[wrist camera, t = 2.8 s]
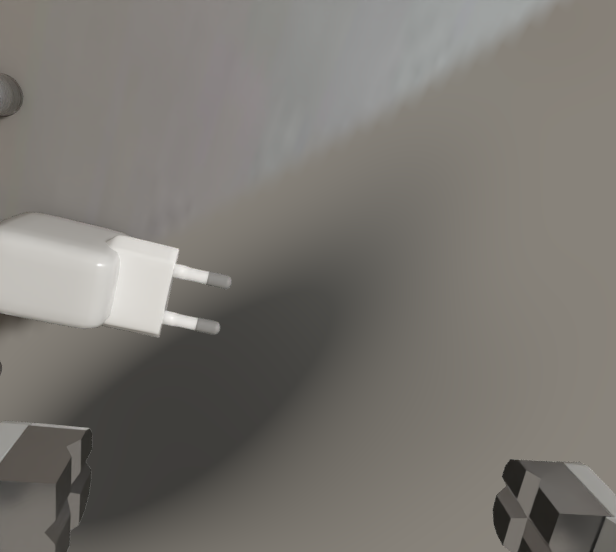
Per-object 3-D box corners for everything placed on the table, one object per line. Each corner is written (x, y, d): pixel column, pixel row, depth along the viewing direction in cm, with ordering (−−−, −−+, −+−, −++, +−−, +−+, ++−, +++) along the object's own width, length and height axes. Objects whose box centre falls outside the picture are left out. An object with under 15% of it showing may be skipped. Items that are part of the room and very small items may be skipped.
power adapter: (237, 247, 29) (236, 276, 23) (217, 324, 30) (212, 370, 24) (28, 196, 27) (-28, 215, 21) (15, 282, 28) (-41, 321, 22)
